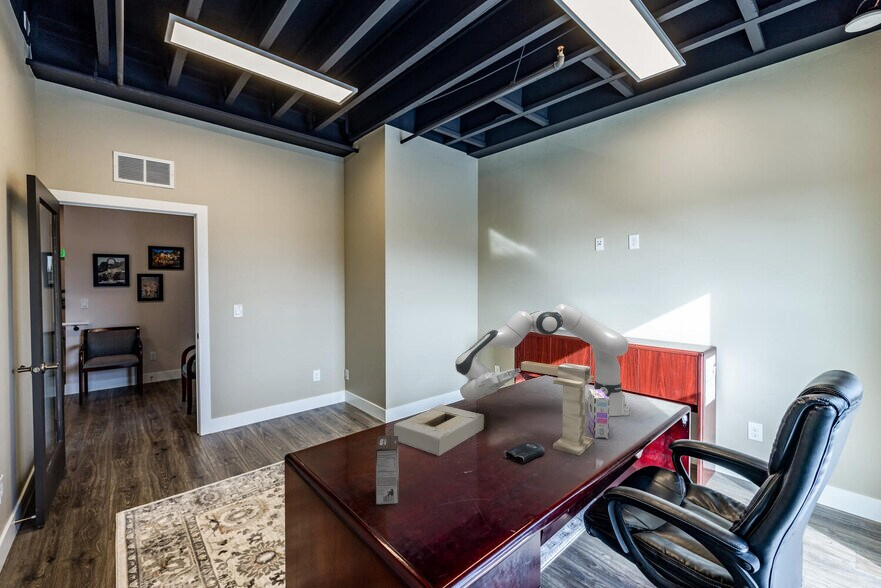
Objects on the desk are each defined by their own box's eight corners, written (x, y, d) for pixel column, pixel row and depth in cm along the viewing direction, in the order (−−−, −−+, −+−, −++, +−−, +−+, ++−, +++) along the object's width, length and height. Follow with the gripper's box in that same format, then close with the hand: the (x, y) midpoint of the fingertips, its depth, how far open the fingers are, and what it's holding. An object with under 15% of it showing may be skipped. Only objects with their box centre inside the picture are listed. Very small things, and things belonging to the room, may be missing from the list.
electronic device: (526, 471, 131) (549, 451, 141) (523, 455, 131) (546, 437, 141) (504, 465, 138) (528, 447, 148) (501, 450, 138) (525, 433, 148)
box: (440, 458, 138) (484, 429, 164) (439, 437, 138) (484, 411, 164) (393, 443, 152) (440, 419, 178) (392, 424, 152) (440, 402, 178)
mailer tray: (524, 368, 162) (524, 361, 162) (567, 374, 151) (567, 367, 150) (519, 369, 159) (520, 362, 159) (563, 376, 147) (563, 369, 147)
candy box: (609, 439, 153) (609, 398, 152) (593, 438, 154) (594, 397, 153) (602, 426, 166) (602, 388, 166) (587, 425, 167) (588, 388, 167)
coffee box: (378, 487, 118) (377, 435, 117) (399, 486, 118) (398, 434, 118) (375, 504, 109) (374, 448, 108) (398, 503, 109) (398, 447, 109)
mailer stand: (568, 435, 156) (569, 361, 155) (593, 442, 150) (594, 364, 149) (553, 448, 145) (553, 367, 144) (579, 455, 139) (580, 371, 138)
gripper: (473, 380, 164) (497, 368, 156) (498, 372, 180) (522, 361, 172) (479, 394, 162) (504, 383, 154) (504, 385, 178) (528, 374, 170)
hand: (513, 371), depth 163 cm, fingers open, 8 cm apart
